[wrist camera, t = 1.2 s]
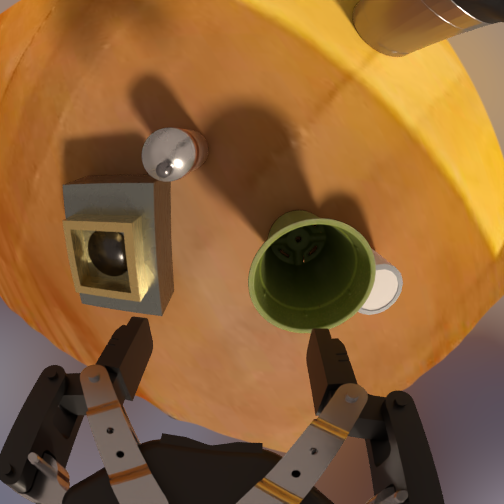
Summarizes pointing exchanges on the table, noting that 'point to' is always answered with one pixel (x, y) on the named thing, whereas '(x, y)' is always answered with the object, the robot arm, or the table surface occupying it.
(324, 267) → the plant pot
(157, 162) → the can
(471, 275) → the table surface
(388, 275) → the white cylinder
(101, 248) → the grey block with socket
